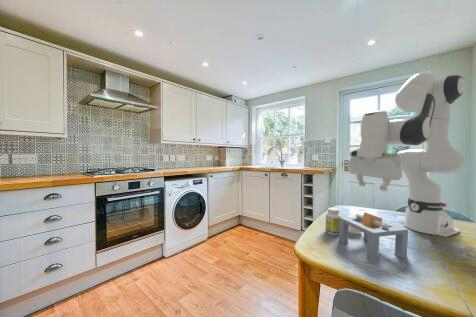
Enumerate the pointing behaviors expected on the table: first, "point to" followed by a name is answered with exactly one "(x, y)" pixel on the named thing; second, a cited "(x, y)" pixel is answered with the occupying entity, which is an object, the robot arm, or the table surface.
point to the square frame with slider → (374, 235)
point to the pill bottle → (332, 221)
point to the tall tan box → (370, 220)
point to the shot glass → (353, 230)
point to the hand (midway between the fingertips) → (372, 188)
